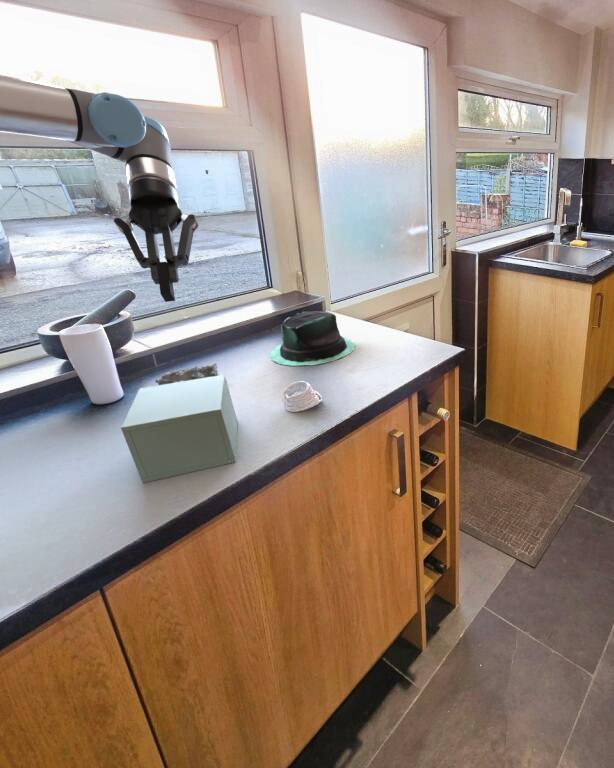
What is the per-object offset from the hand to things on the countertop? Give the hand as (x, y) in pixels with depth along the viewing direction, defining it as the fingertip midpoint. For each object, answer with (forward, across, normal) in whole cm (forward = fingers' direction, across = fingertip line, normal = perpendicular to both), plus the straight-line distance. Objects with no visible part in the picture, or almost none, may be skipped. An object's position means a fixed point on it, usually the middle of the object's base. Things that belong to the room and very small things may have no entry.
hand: (167, 297), depth 87 cm
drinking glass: (+7, +18, -24) cm, 31 cm away
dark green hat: (0, -23, -32) cm, 39 cm away
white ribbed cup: (+21, -18, -10) cm, 30 cm away
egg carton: (+8, +3, -24) cm, 25 cm away
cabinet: (+27, 0, -4) cm, 28 cm away
